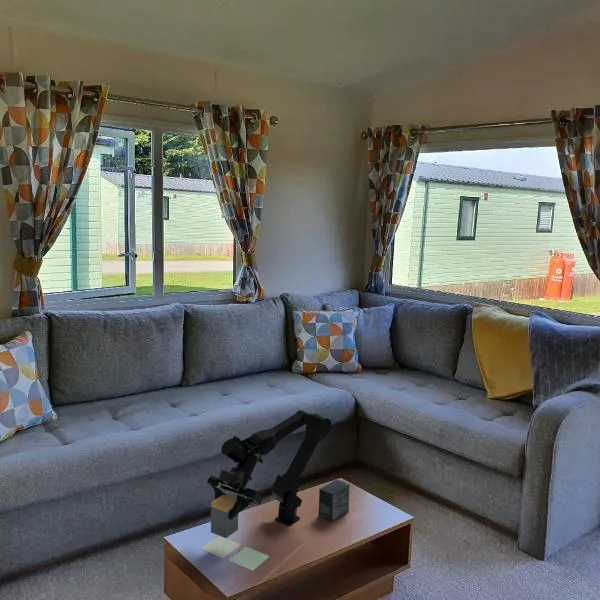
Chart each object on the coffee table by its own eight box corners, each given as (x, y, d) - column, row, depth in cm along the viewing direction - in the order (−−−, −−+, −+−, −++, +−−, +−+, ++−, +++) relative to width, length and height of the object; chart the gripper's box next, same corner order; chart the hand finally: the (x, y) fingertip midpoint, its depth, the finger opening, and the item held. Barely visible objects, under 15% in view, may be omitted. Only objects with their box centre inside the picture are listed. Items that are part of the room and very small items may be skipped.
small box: (334, 505, 216) (336, 478, 214) (349, 511, 212) (350, 484, 210) (317, 515, 208) (318, 488, 206) (332, 522, 204) (333, 494, 202)
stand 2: (246, 549, 185) (246, 546, 185) (269, 559, 181) (269, 556, 181) (228, 563, 178) (228, 560, 178) (252, 573, 173) (252, 570, 173)
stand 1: (218, 538, 191) (218, 535, 191) (240, 547, 186) (241, 544, 186) (200, 551, 183) (200, 548, 183) (223, 561, 179) (223, 558, 179)
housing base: (223, 523, 188) (223, 498, 186) (238, 529, 185) (238, 504, 183) (210, 532, 183) (211, 506, 181) (225, 538, 179) (226, 512, 178)
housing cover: (223, 503, 187) (223, 494, 186) (238, 509, 183) (238, 499, 183) (211, 511, 182) (211, 502, 181) (226, 517, 178) (226, 507, 178)
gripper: (210, 451, 188) (186, 497, 181) (257, 466, 178) (234, 516, 171) (225, 466, 196) (203, 510, 189) (271, 481, 186) (250, 528, 179)
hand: (221, 516), depth 182 cm, fingers closed on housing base, 6 cm apart
